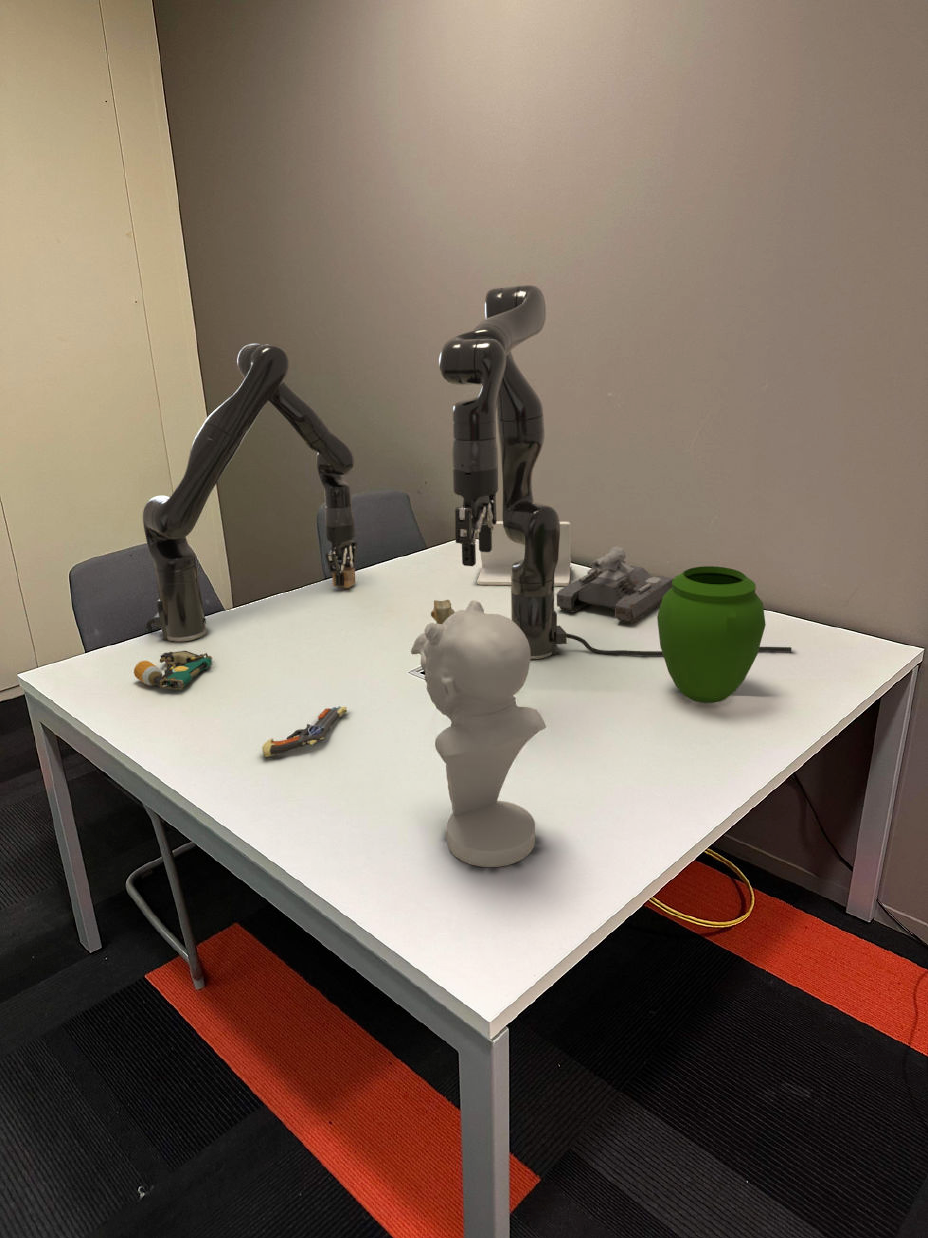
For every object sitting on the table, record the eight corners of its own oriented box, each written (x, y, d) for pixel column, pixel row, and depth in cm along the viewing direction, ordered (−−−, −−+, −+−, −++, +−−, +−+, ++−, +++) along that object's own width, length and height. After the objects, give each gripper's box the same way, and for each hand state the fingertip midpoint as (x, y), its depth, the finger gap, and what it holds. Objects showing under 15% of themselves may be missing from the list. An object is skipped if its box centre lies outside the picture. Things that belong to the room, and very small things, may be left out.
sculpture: (458, 662, 183) (456, 596, 178) (460, 676, 176) (457, 608, 171) (431, 663, 183) (428, 597, 177) (431, 677, 176) (428, 609, 171)
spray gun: (177, 659, 191) (231, 671, 185) (120, 684, 176) (176, 698, 171) (176, 641, 190) (230, 653, 184) (118, 665, 175) (174, 678, 169)
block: (340, 581, 236) (339, 566, 234) (355, 583, 234) (354, 567, 232) (333, 586, 232) (331, 570, 230) (348, 587, 230) (347, 572, 229)
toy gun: (257, 746, 146) (311, 744, 144) (298, 704, 164) (347, 701, 161) (260, 761, 146) (314, 759, 144) (300, 717, 164) (349, 715, 162)
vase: (769, 686, 168) (782, 568, 159) (741, 727, 152) (753, 599, 144) (673, 667, 178) (680, 554, 169) (637, 703, 162) (643, 582, 154)
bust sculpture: (481, 772, 140) (476, 569, 128) (565, 848, 120) (569, 617, 108) (392, 800, 134) (378, 588, 121) (465, 886, 114) (457, 642, 101)
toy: (603, 584, 229) (605, 530, 224) (673, 597, 218) (677, 540, 213) (555, 612, 210) (556, 553, 205) (630, 627, 199) (633, 566, 194)
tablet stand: (569, 585, 229) (570, 524, 223) (476, 584, 232) (475, 523, 226) (570, 566, 246) (571, 508, 240) (484, 564, 249) (483, 507, 243)
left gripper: (340, 515, 234) (344, 574, 240) (314, 527, 222) (319, 590, 228) (364, 516, 232) (368, 576, 238) (339, 529, 219) (344, 592, 225)
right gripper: (468, 456, 150) (471, 546, 155) (438, 472, 137) (442, 568, 143) (509, 458, 147) (510, 548, 153) (482, 474, 135) (484, 572, 140)
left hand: (344, 583), depth 233 cm, fingers closed on block, 4 cm apart
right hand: (477, 558), depth 148 cm, fingers open, 8 cm apart
